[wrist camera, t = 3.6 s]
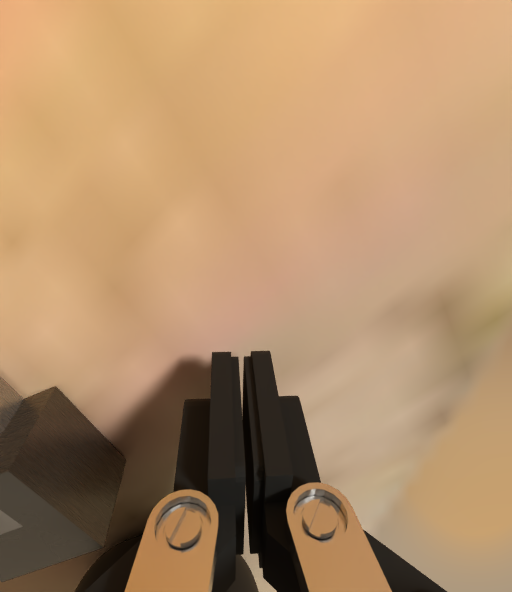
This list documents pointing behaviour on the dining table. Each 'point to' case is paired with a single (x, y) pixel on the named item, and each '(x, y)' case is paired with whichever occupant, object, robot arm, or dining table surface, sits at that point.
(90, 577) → the cola bottle
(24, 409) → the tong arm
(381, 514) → the dining table surface
